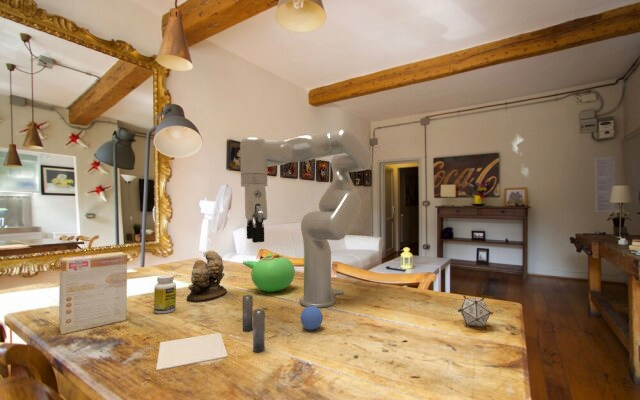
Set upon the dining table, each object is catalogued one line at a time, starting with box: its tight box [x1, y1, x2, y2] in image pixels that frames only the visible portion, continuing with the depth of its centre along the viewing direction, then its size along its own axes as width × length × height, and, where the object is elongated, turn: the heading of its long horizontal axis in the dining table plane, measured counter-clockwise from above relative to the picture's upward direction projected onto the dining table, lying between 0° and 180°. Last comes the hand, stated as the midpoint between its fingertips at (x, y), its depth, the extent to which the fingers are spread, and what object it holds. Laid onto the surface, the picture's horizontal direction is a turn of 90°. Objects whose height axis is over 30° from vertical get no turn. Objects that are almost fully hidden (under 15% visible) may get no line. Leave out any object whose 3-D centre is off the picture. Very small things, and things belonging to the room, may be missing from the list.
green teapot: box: [242, 252, 296, 293], centre depth 124 cm, size 18×17×15 cm
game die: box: [457, 295, 494, 330], centre depth 86 cm, size 9×8×10 cm
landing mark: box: [155, 332, 229, 371], centre depth 72 cm, size 14×14×1 cm
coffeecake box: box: [58, 251, 128, 335], centre depth 88 cm, size 15×7×20 cm, turn 134°
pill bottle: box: [153, 274, 177, 315], centre depth 99 cm, size 6×6×11 cm
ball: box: [300, 306, 324, 331], centre depth 84 cm, size 6×6×6 cm
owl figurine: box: [186, 250, 227, 304], centre depth 117 cm, size 18×12×17 cm, turn 166°
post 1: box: [242, 294, 254, 333], centre depth 84 cm, size 3×3×9 cm
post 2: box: [252, 308, 266, 354], centre depth 72 cm, size 3×3×9 cm
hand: (255, 240), depth 90 cm, fingers open, 9 cm apart
